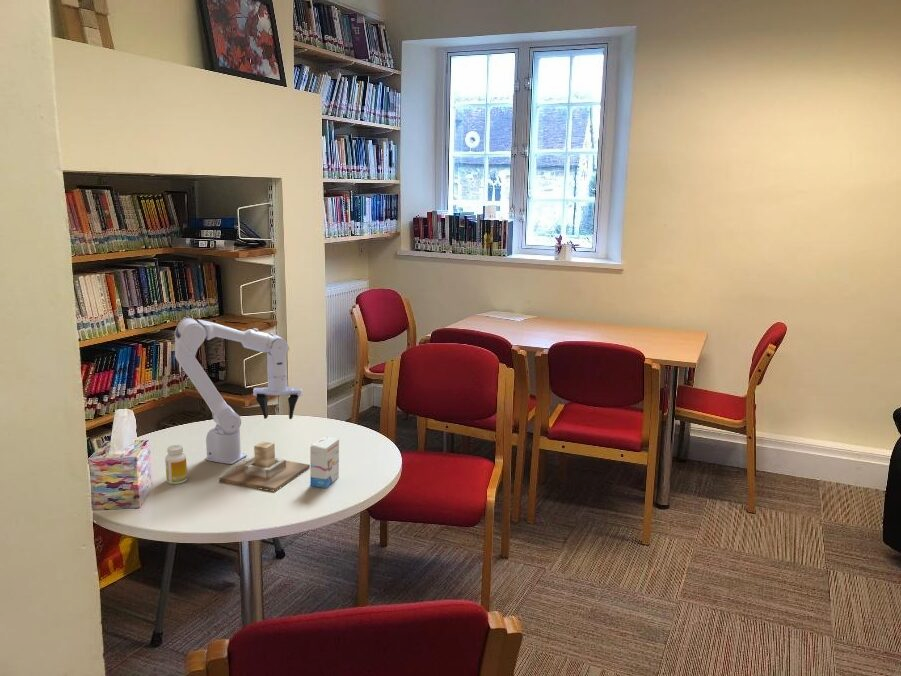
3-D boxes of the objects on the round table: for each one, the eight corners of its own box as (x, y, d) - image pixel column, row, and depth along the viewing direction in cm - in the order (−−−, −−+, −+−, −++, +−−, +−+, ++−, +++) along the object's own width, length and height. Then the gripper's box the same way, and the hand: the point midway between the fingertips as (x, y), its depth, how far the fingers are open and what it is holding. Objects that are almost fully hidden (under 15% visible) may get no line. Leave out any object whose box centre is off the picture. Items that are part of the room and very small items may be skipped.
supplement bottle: (191, 478, 206) (189, 445, 203) (178, 485, 201) (176, 452, 198) (175, 475, 207) (173, 442, 205) (162, 482, 202) (160, 449, 200)
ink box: (326, 489, 201) (325, 448, 198) (309, 486, 202) (308, 445, 199) (339, 477, 209) (339, 437, 206) (323, 474, 210) (323, 435, 207)
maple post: (255, 472, 208) (254, 445, 206) (263, 467, 211) (262, 441, 210) (267, 474, 206) (266, 448, 205) (275, 469, 210) (274, 443, 208)
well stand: (219, 481, 204) (218, 469, 203) (257, 458, 221) (256, 447, 220) (275, 491, 198) (274, 479, 197) (309, 467, 215) (309, 456, 214)
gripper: (249, 378, 219) (251, 421, 222) (298, 379, 219) (299, 422, 222) (255, 372, 226) (257, 414, 229) (303, 373, 226) (304, 415, 229)
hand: (278, 417), depth 226 cm, fingers open, 7 cm apart
